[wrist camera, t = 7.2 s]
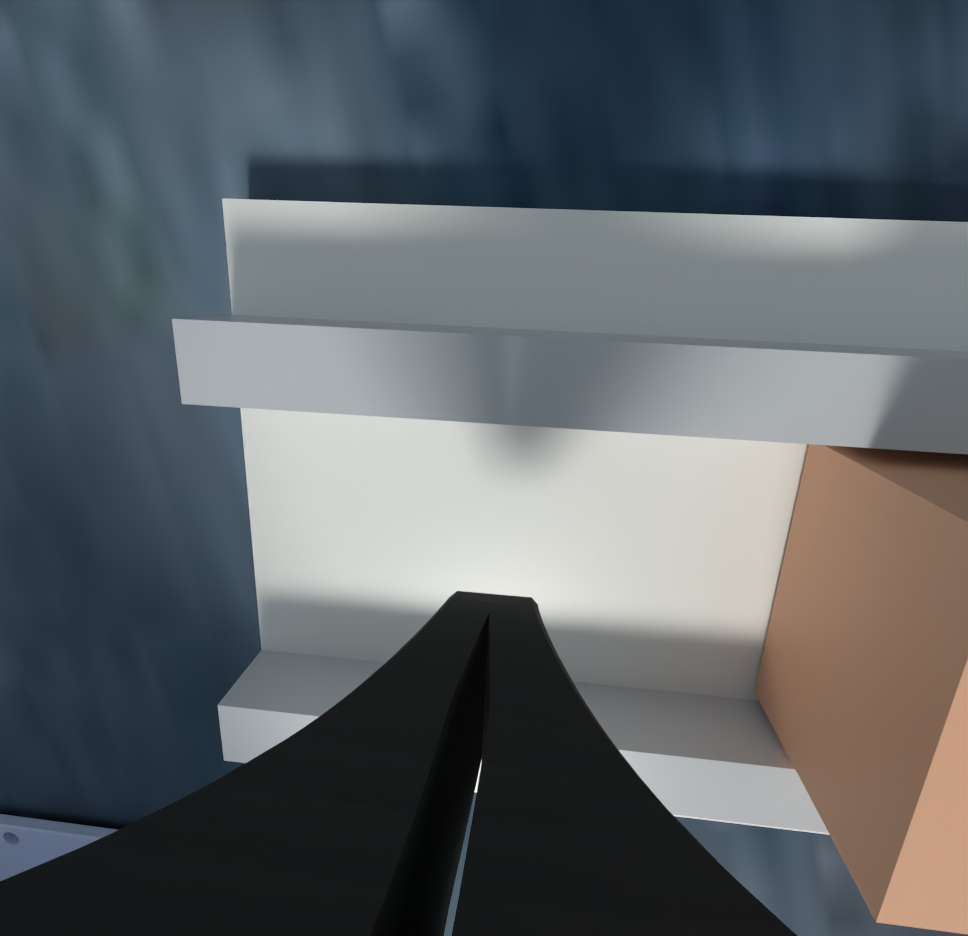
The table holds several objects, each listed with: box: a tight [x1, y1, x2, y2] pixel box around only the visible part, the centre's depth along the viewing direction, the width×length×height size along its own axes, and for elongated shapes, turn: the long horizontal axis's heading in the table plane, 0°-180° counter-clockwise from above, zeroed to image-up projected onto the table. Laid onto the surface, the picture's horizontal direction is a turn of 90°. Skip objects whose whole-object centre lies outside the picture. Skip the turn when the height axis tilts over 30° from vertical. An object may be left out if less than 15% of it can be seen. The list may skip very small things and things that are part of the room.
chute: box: [172, 199, 968, 835], centre depth 11 cm, size 20×14×4 cm
